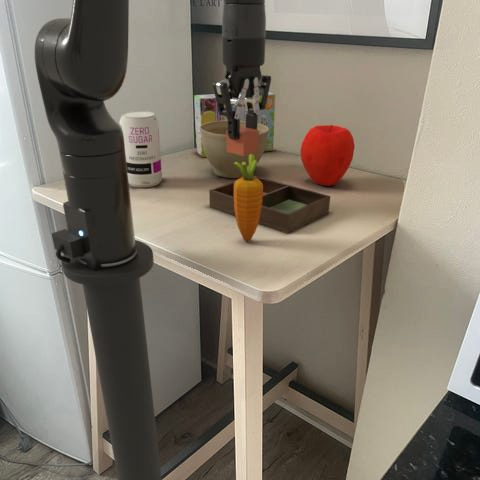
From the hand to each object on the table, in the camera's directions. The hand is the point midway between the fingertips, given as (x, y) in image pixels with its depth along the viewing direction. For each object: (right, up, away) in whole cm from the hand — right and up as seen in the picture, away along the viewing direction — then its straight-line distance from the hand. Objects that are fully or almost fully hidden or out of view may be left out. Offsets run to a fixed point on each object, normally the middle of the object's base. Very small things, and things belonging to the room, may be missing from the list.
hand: (242, 136), depth 95 cm
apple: (+19, -4, +21) cm, 28 cm away
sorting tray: (+5, -13, +6) cm, 15 cm away
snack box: (-2, +12, +44) cm, 45 cm away
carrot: (+1, -22, -7) cm, 23 cm away
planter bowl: (-2, +1, +27) cm, 27 cm away
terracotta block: (0, -2, +2) cm, 3 cm away
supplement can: (-23, -4, +20) cm, 30 cm away
